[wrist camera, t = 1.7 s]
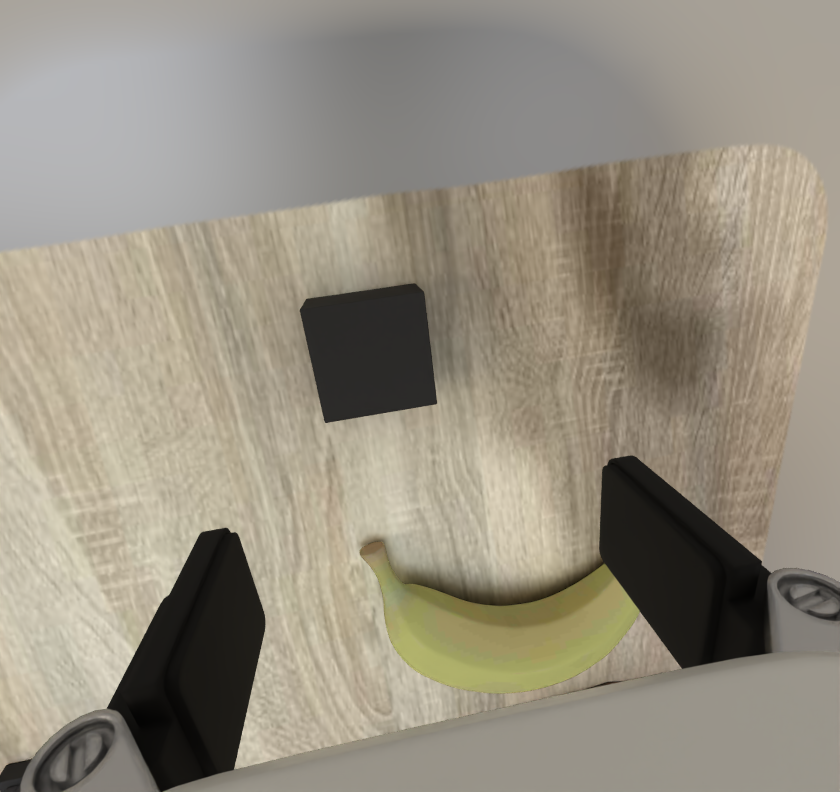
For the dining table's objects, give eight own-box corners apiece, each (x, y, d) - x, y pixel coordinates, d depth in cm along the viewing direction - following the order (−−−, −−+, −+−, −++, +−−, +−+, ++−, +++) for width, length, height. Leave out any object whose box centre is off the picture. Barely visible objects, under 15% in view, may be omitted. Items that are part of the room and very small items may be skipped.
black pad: (327, 401, 26) (324, 423, 23) (305, 299, 24) (299, 309, 21) (427, 384, 27) (437, 404, 24) (415, 283, 25) (424, 291, 22)
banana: (588, 756, 30) (320, 649, 27) (551, 696, 36) (324, 601, 32) (682, 577, 30) (426, 447, 27) (630, 544, 36) (413, 433, 32)
